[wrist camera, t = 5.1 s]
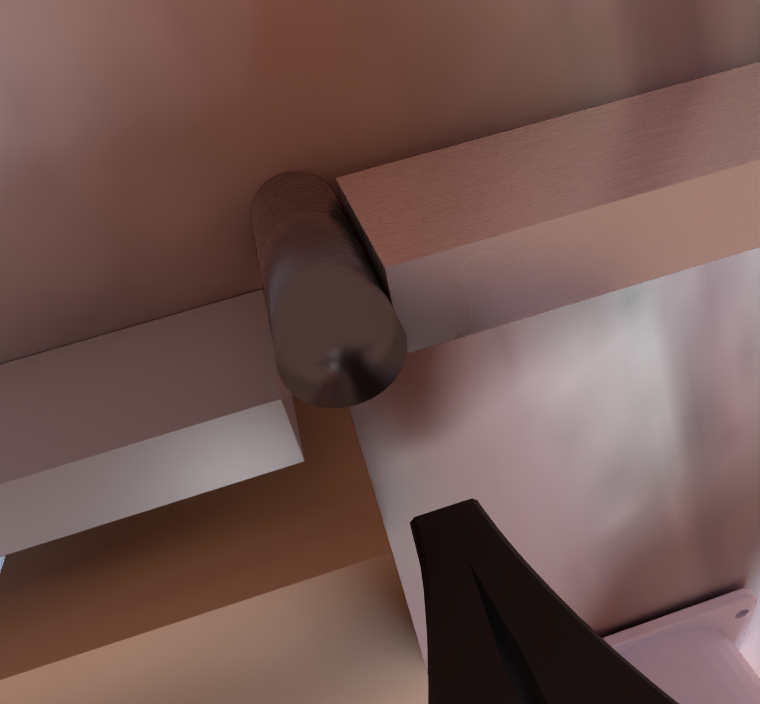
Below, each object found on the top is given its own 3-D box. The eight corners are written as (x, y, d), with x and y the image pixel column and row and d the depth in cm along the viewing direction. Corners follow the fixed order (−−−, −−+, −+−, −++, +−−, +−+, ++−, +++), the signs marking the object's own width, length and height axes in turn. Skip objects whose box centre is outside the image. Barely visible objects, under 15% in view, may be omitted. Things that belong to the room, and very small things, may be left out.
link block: (385, 534, 15) (435, 702, 11) (144, 613, 14) (126, 811, 11) (340, 382, 12) (392, 552, 8) (31, 474, 11) (-39, 692, 8)
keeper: (266, 265, 10) (296, 422, 7) (239, 185, 9) (259, 321, 6) (895, 87, 11) (1185, 149, 8) (923, -1, 10) (1263, 28, 7)
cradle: (376, 608, 16) (406, 723, 14) (40, 722, 16) (11, 864, 13) (261, 289, 10) (280, 399, 8) (-310, 453, 9) (-488, 631, 7)
